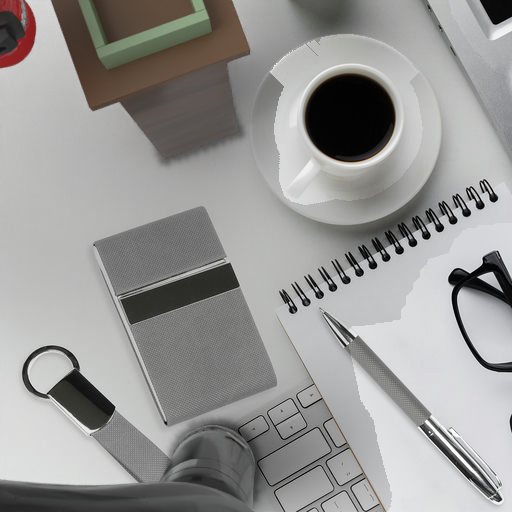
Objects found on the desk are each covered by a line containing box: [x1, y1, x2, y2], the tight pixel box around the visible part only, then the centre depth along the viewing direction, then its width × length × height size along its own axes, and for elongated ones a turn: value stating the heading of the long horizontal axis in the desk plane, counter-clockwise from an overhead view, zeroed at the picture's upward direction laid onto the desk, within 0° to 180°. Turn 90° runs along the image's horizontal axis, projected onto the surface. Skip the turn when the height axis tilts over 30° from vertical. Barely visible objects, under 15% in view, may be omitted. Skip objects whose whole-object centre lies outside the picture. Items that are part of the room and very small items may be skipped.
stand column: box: [118, 63, 239, 160], centre depth 63 cm, size 9×9×29 cm
